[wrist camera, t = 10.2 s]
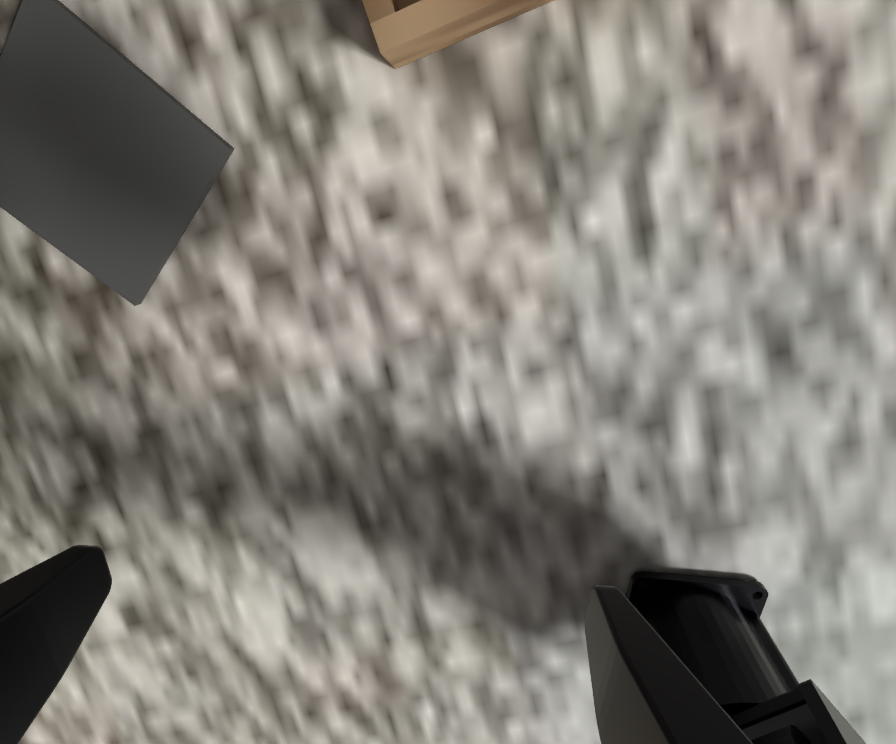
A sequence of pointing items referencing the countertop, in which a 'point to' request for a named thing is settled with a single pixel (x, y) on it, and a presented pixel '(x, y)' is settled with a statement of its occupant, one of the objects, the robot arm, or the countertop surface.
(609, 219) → the countertop surface
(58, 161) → the mat
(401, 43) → the tray
